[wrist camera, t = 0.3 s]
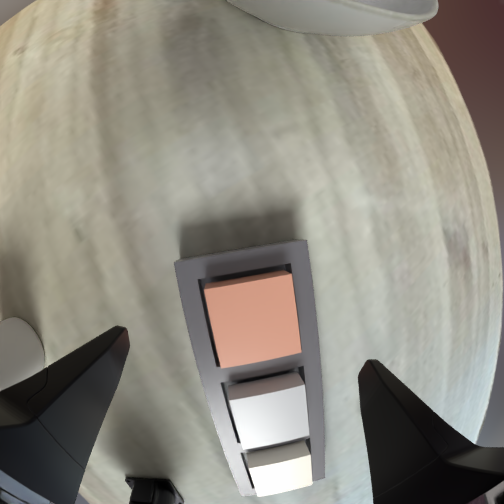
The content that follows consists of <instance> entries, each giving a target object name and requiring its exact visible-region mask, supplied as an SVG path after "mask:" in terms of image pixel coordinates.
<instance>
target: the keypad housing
mask: <svg viewBox="0 0 504 504" xmlns="http://www.w3.org/2000/svg"><path fill="white" fill-rule="evenodd" d="M174 266H175V272H176V277H177V282H178V287H179V292H180V297H181V301H182V306H183V311H184V315H185V319H186V324H187V328H188V332H189V336H190V340H191V344H192V348H193V352H194V356H195V360H196V364H197V367H198V371H199V375H200V378H201V382H202V385H203V389H204V392H205V395H206V399H207V402H208V405H209V409H210V412H211V415H212V418H213V421H214V424H215V427H216V430H217V433H218V436H219V439H220V442H221V445H222V447H223V450H224V453H225V456H226V458H227V461H228V464H229V466H230V469H231V472H232V474H233V477H234V479H235V482H236V484H237V487H238V489H239V492H240V494H241V496H249V495H255V494H257V492H256V489H255V486H254V483H253V480H252V477H251V474H250V471H249V467H248V461H247V455H246V453H248V452H253V451H259V450H264V449H269V448H274V447H279V446H283V445H287V444H291V443H295V442H299V441H303V440H304V441H305V443H306V445H307V448H308V450H309V452H310V454H311V467H312V482H313V481H317V480H320V479H323V478H325V437H324V409H323V390H322V374H321V361H320V348H319V337H318V327H317V317H316V307H315V299H314V290H313V282H312V274H311V266H310V259H309V252H308V245H307V240H297V239H295V240H289V241H283V242H277V243H271V244H265V245H259V246H253V247H247V248H241V249H235V250H229V251H223V252H217V253H212V254H206V255H200V256H194V257H188V258H182V259H179V260H177V261H176V262H174ZM279 270H285V271H287V272H289V273H291V274H292V280H293V287H294V295H295V302H296V310H297V318H298V326H299V334H300V343H301V353H297V354H293V355H288V356H284V357H280V358H275V359H270V360H266V361H261V362H256V363H250V364H245V365H240V366H234V367H228V368H222V369H221V366H220V362H219V357H218V353H217V349H216V344H215V340H214V335H213V331H212V326H211V322H210V317H209V312H208V307H207V302H206V297H205V292H204V288H205V284H206V283H212V282H218V281H223V280H229V279H235V278H241V277H246V276H252V275H258V274H263V273H269V272H274V271H279ZM296 371H297V372H298V374H299V376H300V377H301V379H302V381H303V382H304V384H305V390H306V401H307V412H308V424H309V435H308V436H305V437H301V438H297V439H293V440H289V441H285V442H281V443H276V444H272V445H267V446H262V447H257V448H251V449H245V450H243V448H242V445H241V441H240V438H239V435H238V431H237V428H236V424H235V420H234V417H233V413H232V409H231V406H230V402H229V393H228V385H233V384H239V383H245V382H250V381H255V380H260V379H265V378H270V377H275V376H279V375H284V374H288V373H292V372H296Z"/></svg>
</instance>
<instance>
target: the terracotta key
mask: <svg viewBox="0 0 504 504" xmlns="http://www.w3.org/2000/svg"><path fill="white" fill-rule="evenodd" d="M204 292H205V297H206V302H207V307H208V312H209V317H210V322H211V326H212V331H213V335H214V340H215V344H216V349H217V353H218V357H219V362H220V366H221V369H222V368H228V367H234V366H240V365H245V364H250V363H256V362H261V361H266V360H270V359H275V358H280V357H284V356H288V355H293V354H297V353H301V343H300V334H299V326H298V318H297V310H296V302H295V295H294V287H293V280H292V274H291V273H289V272H287V271H285V270H279V271H274V272H269V273H263V274H258V275H252V276H246V277H241V278H235V279H229V280H223V281H218V282H212V283H206V284H205V288H204Z"/></svg>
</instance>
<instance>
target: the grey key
mask: <svg viewBox="0 0 504 504" xmlns="http://www.w3.org/2000/svg"><path fill="white" fill-rule="evenodd" d="M228 393H229V402H230V406H231V409H232V413H233V417H234V420H235V424H236V428H237V431H238V435H239V438H240V441H241V445H242V448H243V450H245V449H251V448H257V447H262V446H267V445H272V444H276V443H281V442H285V441H289V440H293V439H297V438H301V437H305V436H308V435H309V424H308V412H307V401H306V390H305V384H304V382H303V381H302V379H301V377H300V376H299V374H298V372H297V371H296V372H292V373H288V374H284V375H279V376H275V377H270V378H265V379H260V380H255V381H250V382H245V383H239V384H233V385H228Z"/></svg>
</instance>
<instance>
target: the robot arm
mask: <svg viewBox="0 0 504 504" xmlns="http://www.w3.org/2000/svg"><path fill="white" fill-rule="evenodd" d="M129 348H130V342H129V336H128V331H127V328H125V327H122V326H114V327H113V328H111V329H109V330H108V331H106V332H104V333H103V334H101V335H99V336H98V337H96V338H94V339H93V340H91V341H89V342H88V343H86V344H84V345H83V346H81V347H79V348H78V349H76V350H74V351H73V352H71V353H69V354H68V355H66V356H64V357H63V358H61V359H59V360H58V361H56V362H54V363H53V364H51V365H49V366H48V368H47V367H46V368H44V369H43V370H41V371H39V372H38V373H36V374H34V375H32V376H31V377H29V378H27V379H25V380H23V381H21V382H18V383H16V384H14V385H12V386H10V387H8V388H5V389H3V390H1V391H0V504H50V502H53V503H55V504H75V500H76V497H77V494H78V491H79V487H80V484H81V481H82V478H83V475H84V472H85V469H86V466H87V463H88V460H89V457H90V454H91V452H92V449H93V446H94V443H95V441H96V438H97V435H98V433H99V430H100V428H101V425H102V422H103V420H104V417H105V415H106V412H107V410H108V408H109V405H110V403H111V400H112V398H113V396H114V393H115V391H116V389H117V386H118V384H119V381H120V378H121V374H122V371H123V368H124V364H125V361H126V358H127V355H128V352H129ZM358 384H359V396H360V408H361V416H362V421H363V427H364V433H365V439H366V446H367V452H368V459H369V467H370V474H371V483H372V492H373V504H504V447H481V446H478V445H475V444H474V443H472V442H471V441H469V440H468V439H467V438H465V437H464V436H463V435H462V434H460V433H459V432H458V431H456V430H455V429H454V428H452V427H451V426H450V425H449V424H447V423H446V422H445V421H444V420H443V419H442V418H441V417H439V416H438V415H437V414H436V413H435V412H433V410H432V409H431V408H430V407H429V406H427V405H426V404H425V403H424V402H423V401H422V400H421V399H420V398H419V397H418V396H417V395H415V394H414V393H413V392H412V391H411V390H410V389H409V388H408V387H407V386H406V385H405V384H403V383H402V382H401V381H400V380H399V379H398V378H397V377H396V376H395V375H394V374H393V373H391V372H390V371H389V370H388V369H387V368H386V367H385V366H384V365H383V364H382V363H380V362H379V361H378V360H376V359H369V360H367V361H366V362H365V364H364V366H363V367H362V369H361V371H360V372H359V375H358ZM125 481H126V483H127V484H128V485H129V486H130V488H131V489H132V492H131V496H130V502H129V504H184V501H183V500H182V498H181V497H180V495H179V494H178V492H177V491H176V489H175V488H174V486H173V484H172V483H171V481H170V480H167V479H143V478H130V477H126V479H125Z"/></svg>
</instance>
